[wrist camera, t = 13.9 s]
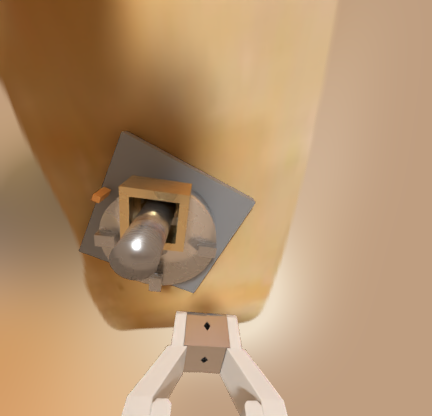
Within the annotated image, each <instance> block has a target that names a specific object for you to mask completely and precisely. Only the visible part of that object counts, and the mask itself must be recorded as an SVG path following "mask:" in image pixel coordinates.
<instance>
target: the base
mask: <svg viewBox="0 0 432 416" xmlns="http://www.w3.org/2000/svg"><path fill="white" fill-rule="evenodd" d="M132 175H135V176H142V177H149V178H156V179H163V180H171V181H177V182H184V183H191V184H192V189H193V190H194V191H196V192H197V193H198V194H199V195H200V196H201V197H202V198H203V199H204V200H205V201H206V203H207V204H208V206H209V207H210V209H211V211H212V214H213V217H214V222H215V230H216V243H217V251H216V256H215V258H212V259H211V261H210V263H209V264H208V265H207V267H206V268H205V269H204V270H203V271H202V272H201V273H199V274H198V275H197V276H195V277H193V278H191V279H190V280H187V281H185V282H182V283H178V284H173V286H175V287H178V288H181V289H184V290H186V291H189V292H192V293H194V292H195V291H196V289H197V288H198V286H199V285H200V283H201V282H202V280H203V279H204V277H205V276H206V275H207V273H208V272H209V270H210V269H211V267H212V266H213V264H214V263H215V261H216V260H217V258H218V257H219V256H220V254H221V253H222V251H223V250H224V248H225V247H226V245H227V244H228V242H229V241H230V239H231V238H232V236H233V235H234V234H235V232H236V231H237V229H238V228H239V226H240V225H241V223H242V222H243V220H244V219H245V217H246V216H247V214H248V213H249V212H250V210H251V209H252V207H253V206H254V204H255V201H254V199H253V198H251V197H249V196H247V195H246V194H244V193H242V192H240V191H238V190H236V189H234V188H233V187H231V186H229V185H227V184H225V183H223V182H221V181H219V180H218V179H216V178H214V177H212V176H210V175H208V174H206V173H205V172H203V171H201V170H199V169H197V168H195V167H193V166H191V165H190V164H188V163H186V162H184V161H182V160H180V159H178V158H177V157H175V156H173V155H171V154H169V153H167V152H165V151H163V150H162V149H160V148H158V147H156V146H154V145H152V144H150V143H149V142H147V141H145V140H143V139H141V138H139V137H137V136H135V135H134V134H132V133H130V132H128V131H122V132H121V135H120V137H119V140H118V143H117V146H116V149H115V151H114V154H113V157H112V160H111V163H110V165H109V168H108V171H107V174H106V177H105V179H104V182H103V185H102V188H101V189H100V190H98V191H97V192H95V193H94V194H93V196H92V199H91V201H94V202H96V204H95V207H94V210H93V213H92V216H91V218H90V221H89V224H88V227H87V230H86V232H85V235H84V238H83V241H82V244H81V246H80V249H79V251H80V252H82V253H85V254H88V255H91V256H93V257H96V258H99V259H101V260H104V261H107V262H109V260H108V258H107V257H106V255H105V253H104V251H103V249H102V247H98V246H95V242H94V234H95V233H96V232H97V231H98V230H99V226H100V221H101V219H102V216H103V214H104V212H105V210H106V209H107V208H108V206H109V205H110V204H111V203H112V202H113V201H114V200H116V199H117V198H118V197H119V186H120V185H121V184H122V183H123V182H125V181H126V180H127V179H129V178H130V177H131V176H132Z"/></svg>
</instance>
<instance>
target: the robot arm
mask: <svg viewBox="0 0 432 416" xmlns="http://www.w3.org/2000/svg"><path fill="white" fill-rule="evenodd" d="M183 372H206V373H220V376H221V378H222V380H223V382H224V384H225V386H226V388H227V390H228V393H229V395H230V397H231V398H232V400H233V403H234V405H235V407H236V409H237V411H238V413H239V415H240V416H288V415H287V411H286V408H285V404H284V401H283V399H282V398H281V397H280V395H279V394H278V393H277V391H276V390H275V389H274V387H273V386H272V385H271V383H270V382H269V380H268V379H267V378H266V376H265V375H264V374H263V372H262V371H261V370H260V368H259V367H258V366H257V364H256V363H255V362H254V360H253V359H252V358H251V356H250V355H249V354H248V352H247V351H246V350H245V349H242V345H241V339H240V333H239V328H238V321H237V317H236V315H226V314H211V313H206V314H205V313H195V312H185V311H177V312H176V316H175V322H174V329H173V335H172V342H171V345H168V346H167V347H166V348H165V349H164V351H163V352H162V353H161V354H160V356H159V357H158V358H157V359H156V361H155V362H154V363H153V364H152V366H151V367H150V368H149V369H148V371H147V372H146V373H145V374H144V376H143V377H142V378H141V379H140V381H139V382H138V383H137V384H136V386H135V387H134V388H133V389H132V391H131V392H130V393H129V394H128V396H127V398H126V402H125V405H124V409H123V412H122V416H170V411H171V402H170V401H169V399H168V398H169V396H170V395H171V393H172V391H173V389H174V388H175V386H176V384H177V383H178V381H179V379H180V377H181V376H182V374H183Z"/></svg>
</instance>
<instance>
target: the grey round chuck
mask: <svg viewBox="0 0 432 416" xmlns="http://www.w3.org/2000/svg"><path fill="white" fill-rule="evenodd" d="M148 199H151V200H158V201H166V202H174V203H176V212H175V215H174V218H173V221H172V224H171V227H170V230H169V233H168V236H167V239H166V242H165V245H164V248H163V251H162V254H161V257H160V260H159V264H158V267H157V269H156V271H155V273H154V274H153V275H152V276H150V277H149V278H146V279H143V280H136V281H139V282H142V283H146V284H149V291H156V292H161V288H162V285H173V284H178V283H182V282H185V281H187V280H190V279H191V278H193V277H195V276H197V275H198V274H199V273H201V272H202V271H203V270H204V269H205V268H206V267H207V265H208V264H209V263H210V261H211V259H212V258H215V256H216V251H217V243H216V230H215V222H214V217H213V214H212V211H211V209H210V207H209V206H208V204H207V203H206V201H205V200H204V199H203V198H202V197H201V196H200V195H199V194H198V193H197V192H196V191H194V190H193V189H192V184H191V183H184V182H177V181H171V180H163V179H156V178H149V177H142V176H135V175H132V176H131V177H130V178H129V179H127V180H126V181H125V182H123V183H122V184H121V185H120V186H119V197H118V198H117V199H116V200H114V201H113V202H112V203H111V204H110V205H109V206H108V208H107V209H106V210H105V212H104V214H103V216H102V219H101V221H100V226H99V230H98V231H97V232H96V233H95V234H94V242H95V246H98V247H102V249H103V251H104V253H105V255H106V257H107V258H108V260H109V255H110V253H111V251H112V249H113V248H114V247H115V245H116V244H117V242H118V241H119V240H120V238H121V237H122V235H123V234H124V233H125V231H126V230H127V229H128V227H129V226H130V224H131V223H132V222H133V220H134V219H135V217H136V216H137V215H138V213H139V212H140V210H141V209H142V208H143V206H144V205H145V203H146V202H147V201H148Z"/></svg>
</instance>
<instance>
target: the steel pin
mask: <svg viewBox="0 0 432 416" xmlns="http://www.w3.org/2000/svg"><path fill="white" fill-rule="evenodd" d="M175 212H176V203H174V202H166V201H158V200H151V199H148V201H147V202H146V203H145V205H144V206H143V208H142V209H141V210H140V212H139V213H138V215H137V216H136V217H135V219H134V220H133V222H132V223H131V224H130V226H129V227H128V229H127V230H126V231H125V233H124V234H123V235H122V237H121V238H120V240H119V241H118V242H117V244H116V245H115V247H114V248H113V249H112V251H111V253H110V255H109V263H110V266H111V267H112V269H113V270H114V271H115V272H116V273H117V274H118V275H120V276H121V277H123V278H126V279H129V280H143V279H146V278H149V277H150V276H152V275H153V274H154V273H155V271H156V269H157V267H158V264H159V260H160V257H161V254H162V251H163V248H164V245H165V242H166V239H167V236H168V233H169V230H170V227H171V224H172V221H173V218H174V215H175Z"/></svg>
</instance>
